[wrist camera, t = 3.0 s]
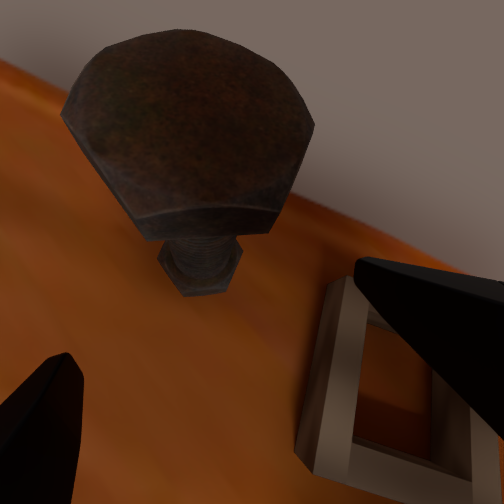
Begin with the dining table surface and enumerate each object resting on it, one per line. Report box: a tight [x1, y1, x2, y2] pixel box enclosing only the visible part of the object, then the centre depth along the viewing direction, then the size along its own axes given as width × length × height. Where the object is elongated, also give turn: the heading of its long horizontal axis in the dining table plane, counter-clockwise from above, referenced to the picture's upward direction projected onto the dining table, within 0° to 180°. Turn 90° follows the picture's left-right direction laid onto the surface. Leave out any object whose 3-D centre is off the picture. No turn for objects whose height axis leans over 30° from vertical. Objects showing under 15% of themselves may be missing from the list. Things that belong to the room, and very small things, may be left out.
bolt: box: [60, 29, 315, 297], centre depth 12 cm, size 6×5×15 cm
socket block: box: [294, 275, 502, 504], centre depth 18 cm, size 12×12×3 cm
